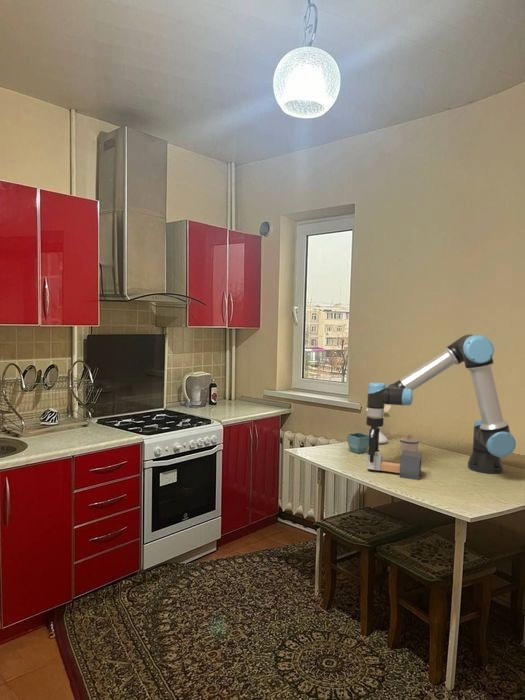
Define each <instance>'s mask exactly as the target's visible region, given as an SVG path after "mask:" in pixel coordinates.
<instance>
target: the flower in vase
mask: <svg viewBox="0 0 525 700" xmlns="http://www.w3.org/2000/svg"><path fill="white" fill-rule="evenodd" d="M391 408H392V405H390V404H388V405H387V404H384V417H383V418H390V417H391V416H390V414H389V413H388V412H389V411H390V409H391ZM378 428H380V429H381V427H378ZM388 441H389V439H388V437H387V436H385V435H384V434H383V433H382V432H381V430H380V432H379V444H387V443H388Z"/></svg>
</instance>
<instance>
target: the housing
mask: <svg viewBox="0 0 525 700" xmlns="http://www.w3.org/2000/svg"><path fill="white" fill-rule="evenodd" d="M422 454H423V453H422V451H418V452H416V451H408V450H403V451H402V453H401V456H400V455H399V457H400V458H399V461H400V462H399V464H400V473H399V478H401V479H408V480H415V481H419V480H420V475H421V473H422V472H421V469H422Z"/></svg>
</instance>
